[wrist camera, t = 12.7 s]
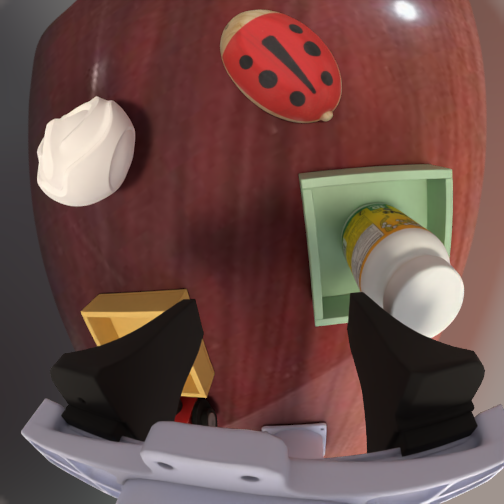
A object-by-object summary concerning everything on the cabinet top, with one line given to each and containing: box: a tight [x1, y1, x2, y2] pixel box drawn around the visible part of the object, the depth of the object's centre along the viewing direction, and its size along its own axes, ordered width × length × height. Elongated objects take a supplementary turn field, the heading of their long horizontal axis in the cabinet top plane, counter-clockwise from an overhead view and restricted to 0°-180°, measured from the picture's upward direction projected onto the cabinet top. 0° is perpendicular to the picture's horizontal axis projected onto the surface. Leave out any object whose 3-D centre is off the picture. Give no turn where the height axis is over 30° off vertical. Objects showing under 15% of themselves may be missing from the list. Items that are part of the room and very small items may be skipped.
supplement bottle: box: [341, 203, 464, 338], centre depth 15 cm, size 5×5×10 cm
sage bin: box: [298, 164, 453, 326], centre depth 18 cm, size 10×10×4 cm
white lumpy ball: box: [37, 96, 135, 206], centre depth 16 cm, size 8×8×8 cm
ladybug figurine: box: [220, 10, 342, 123], centre depth 14 cm, size 7×10×4 cm
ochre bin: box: [81, 289, 215, 398], centre depth 24 cm, size 10×10×4 cm
